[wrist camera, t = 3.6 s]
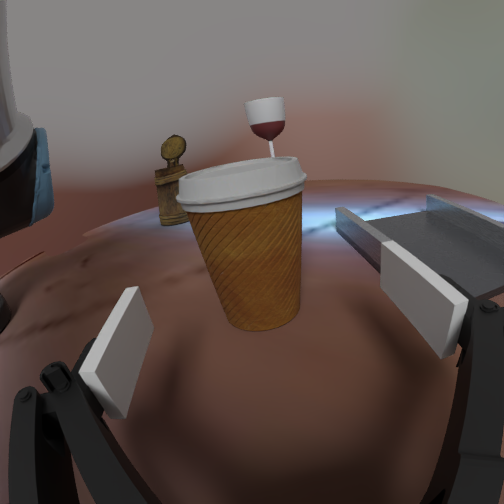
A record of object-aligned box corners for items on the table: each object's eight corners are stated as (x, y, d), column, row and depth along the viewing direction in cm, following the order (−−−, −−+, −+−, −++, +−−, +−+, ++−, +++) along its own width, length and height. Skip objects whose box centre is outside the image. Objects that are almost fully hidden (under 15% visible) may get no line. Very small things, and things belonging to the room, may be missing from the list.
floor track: (538, 275, 19) (544, 245, 18) (427, 322, 19) (433, 284, 18) (432, 215, 39) (432, 194, 38) (336, 231, 39) (335, 208, 38)
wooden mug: (207, 204, 69) (192, 130, 63) (196, 221, 57) (177, 129, 50) (172, 211, 70) (156, 139, 63) (154, 228, 57) (134, 141, 51)
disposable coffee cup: (186, 325, 25) (146, 186, 20) (251, 276, 31) (230, 161, 27) (281, 359, 19) (252, 176, 15) (336, 290, 26) (325, 152, 21)
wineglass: (276, 186, 76) (263, 103, 68) (305, 188, 69) (291, 97, 61) (251, 195, 71) (235, 105, 63) (280, 197, 64) (264, 97, 56)
